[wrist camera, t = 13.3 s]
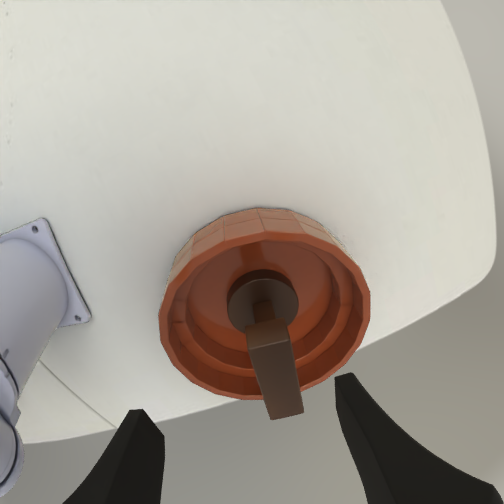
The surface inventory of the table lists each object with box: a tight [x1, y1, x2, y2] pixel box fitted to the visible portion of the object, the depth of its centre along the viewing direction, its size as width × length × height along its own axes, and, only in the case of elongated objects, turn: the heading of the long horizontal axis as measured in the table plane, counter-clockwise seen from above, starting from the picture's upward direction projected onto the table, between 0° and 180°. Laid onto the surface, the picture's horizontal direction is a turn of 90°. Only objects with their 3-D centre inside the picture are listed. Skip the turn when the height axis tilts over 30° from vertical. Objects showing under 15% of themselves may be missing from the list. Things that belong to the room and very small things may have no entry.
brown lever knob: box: [227, 269, 304, 420], centre depth 17 cm, size 4×6×7 cm
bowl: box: [158, 208, 370, 400], centre depth 19 cm, size 12×12×4 cm
